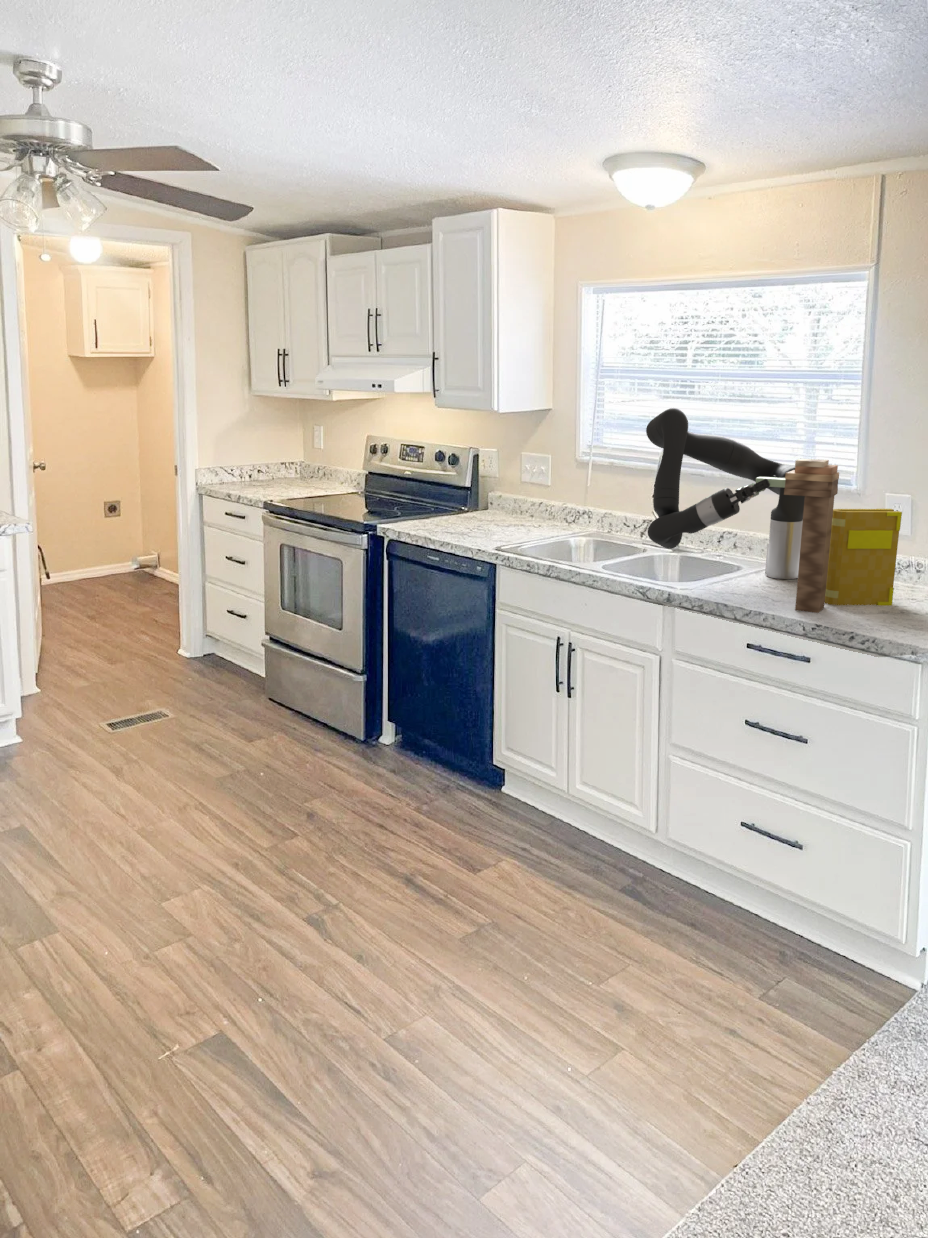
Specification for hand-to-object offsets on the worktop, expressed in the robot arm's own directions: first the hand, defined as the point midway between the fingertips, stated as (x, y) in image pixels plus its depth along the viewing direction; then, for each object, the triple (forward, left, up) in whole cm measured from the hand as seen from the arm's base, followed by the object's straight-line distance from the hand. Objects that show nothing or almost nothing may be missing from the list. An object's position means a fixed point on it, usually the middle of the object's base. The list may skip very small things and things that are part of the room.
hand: (772, 480), depth 271 cm
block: (+4, +4, -1) cm, 5 cm away
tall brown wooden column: (+7, +7, -33) cm, 34 cm away
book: (+5, +25, -33) cm, 42 cm away
